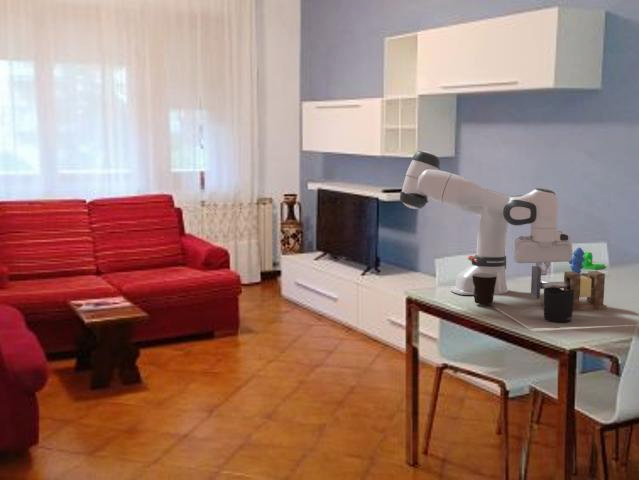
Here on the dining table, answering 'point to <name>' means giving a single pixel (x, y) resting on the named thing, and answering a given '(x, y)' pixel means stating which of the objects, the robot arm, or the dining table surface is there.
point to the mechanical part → (590, 262)
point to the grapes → (577, 260)
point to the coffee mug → (484, 287)
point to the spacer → (585, 286)
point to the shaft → (543, 283)
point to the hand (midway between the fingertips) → (542, 274)
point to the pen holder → (558, 305)
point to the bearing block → (596, 290)
